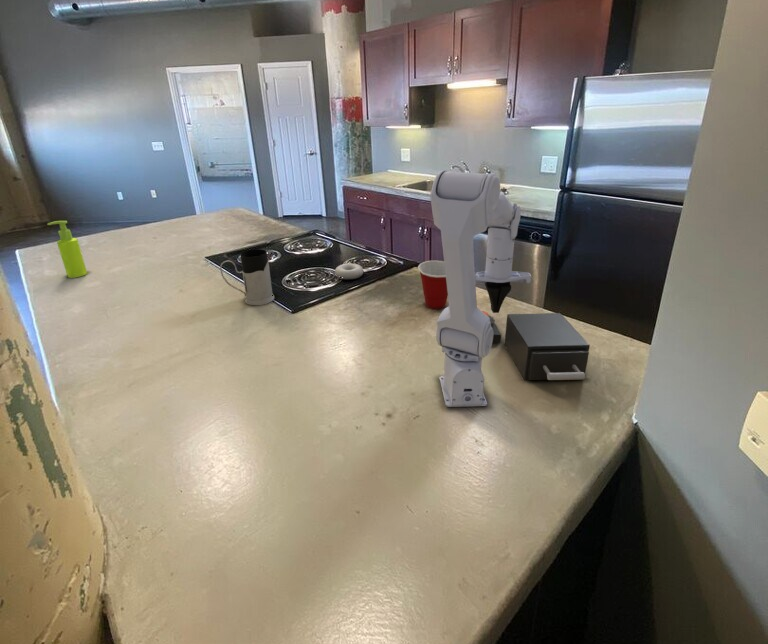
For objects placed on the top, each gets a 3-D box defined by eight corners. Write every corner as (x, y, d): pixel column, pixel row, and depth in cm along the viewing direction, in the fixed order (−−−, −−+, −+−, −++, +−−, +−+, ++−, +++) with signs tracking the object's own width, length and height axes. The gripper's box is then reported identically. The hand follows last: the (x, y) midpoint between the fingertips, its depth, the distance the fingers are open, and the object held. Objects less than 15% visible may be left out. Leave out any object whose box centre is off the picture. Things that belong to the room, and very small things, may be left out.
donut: (341, 270, 151) (330, 279, 142) (341, 261, 150) (329, 270, 141) (367, 272, 148) (357, 282, 139) (367, 263, 147) (357, 272, 138)
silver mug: (276, 302, 126) (270, 255, 120) (226, 310, 121) (218, 262, 116) (272, 291, 133) (266, 247, 128) (225, 299, 129) (217, 253, 123)
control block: (500, 342, 102) (502, 328, 100) (468, 343, 101) (468, 328, 100) (490, 323, 111) (491, 309, 109) (460, 323, 111) (461, 310, 109)
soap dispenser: (66, 273, 152) (49, 220, 145) (88, 270, 155) (73, 218, 148) (62, 279, 147) (45, 224, 140) (85, 276, 150) (69, 221, 143)
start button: (489, 323, 103) (490, 317, 103) (475, 323, 103) (475, 317, 103) (485, 316, 107) (486, 310, 106) (471, 317, 107) (472, 310, 106)
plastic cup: (425, 315, 116) (425, 275, 111) (412, 299, 126) (412, 262, 121) (460, 310, 118) (462, 271, 114) (445, 295, 128) (447, 258, 124)
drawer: (594, 390, 82) (599, 363, 80) (536, 392, 82) (540, 365, 80) (557, 344, 98) (561, 320, 96) (509, 345, 98) (512, 322, 96)
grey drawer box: (583, 378, 87) (590, 345, 84) (524, 380, 87) (528, 346, 84) (556, 342, 101) (560, 312, 98) (504, 344, 101) (507, 314, 98)
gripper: (526, 249, 96) (520, 302, 101) (463, 251, 96) (461, 304, 101) (536, 260, 90) (530, 316, 95) (469, 261, 90) (466, 317, 95)
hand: (494, 311), depth 97 cm, fingers closed
